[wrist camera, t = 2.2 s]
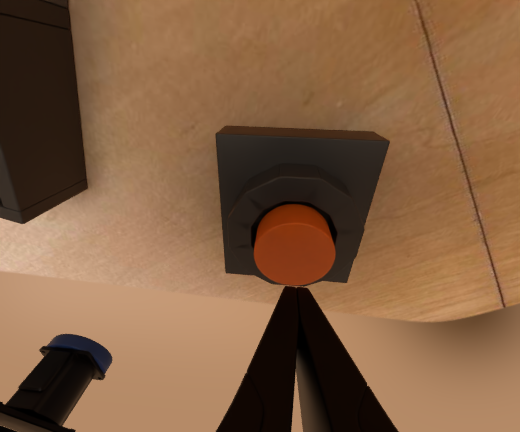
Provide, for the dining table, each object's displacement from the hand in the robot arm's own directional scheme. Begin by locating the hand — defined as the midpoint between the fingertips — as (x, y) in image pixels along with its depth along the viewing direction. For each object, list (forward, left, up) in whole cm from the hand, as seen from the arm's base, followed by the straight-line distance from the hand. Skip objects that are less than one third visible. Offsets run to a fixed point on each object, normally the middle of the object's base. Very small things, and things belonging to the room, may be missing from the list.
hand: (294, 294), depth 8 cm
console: (0, 0, -7) cm, 7 cm away
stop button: (0, 0, -4) cm, 4 cm away
